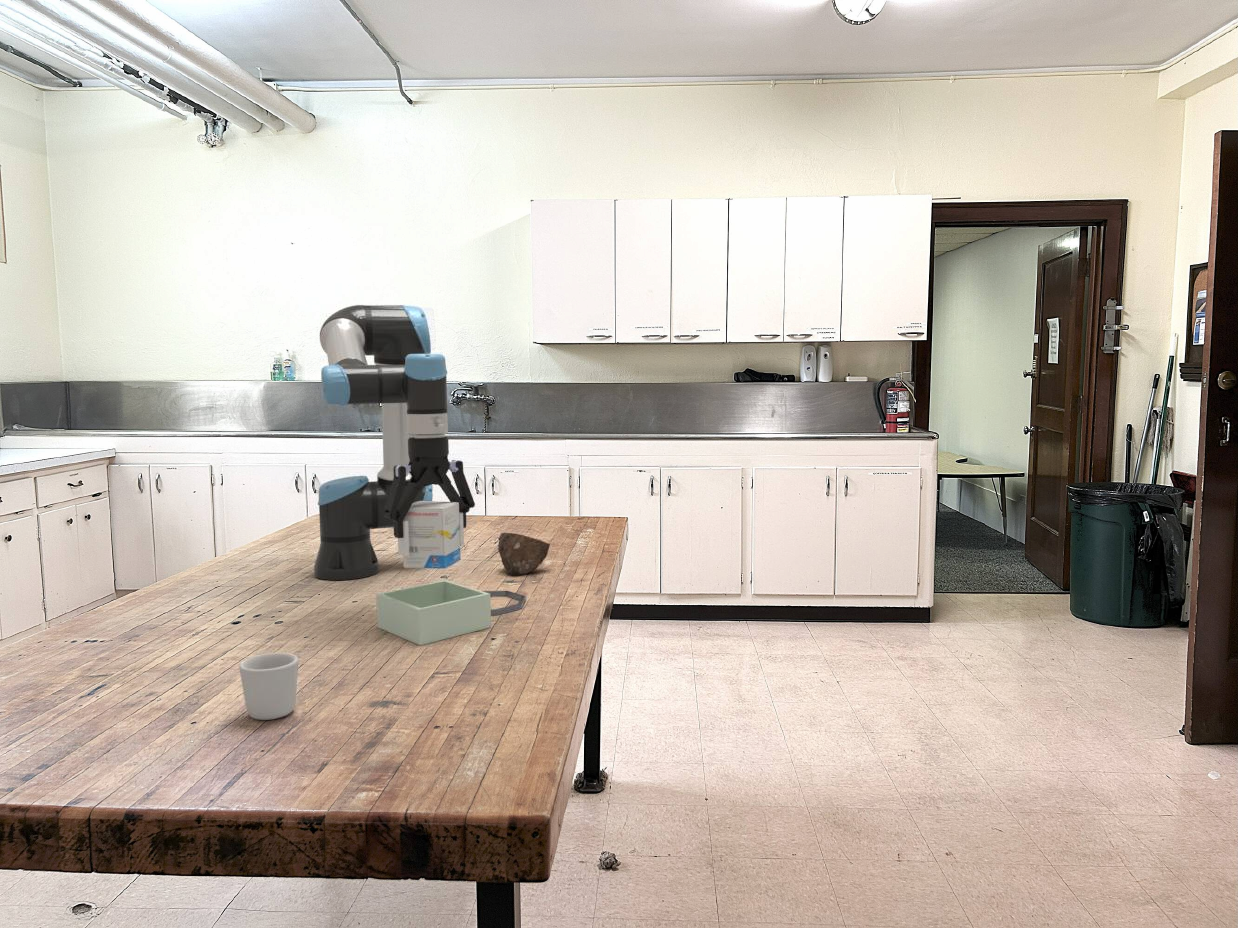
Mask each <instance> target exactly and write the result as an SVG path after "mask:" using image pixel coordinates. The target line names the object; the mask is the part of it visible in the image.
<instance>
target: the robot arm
mask: <svg viewBox="0 0 1238 928" xmlns="http://www.w3.org/2000/svg"><path fill="white" fill-rule="evenodd" d="M429 329H430V328H429V324H428V319H427V316H426V314H425V312H424V310H423V309H422V308H421V307H418V306H413V305H405V304H402V305H401V304H400V305H399V304H395V305H394V304H391V305H390V304H384V305H380V304H379V305H377V304H376V305H367V304H366V305H365V304H355V305H350V306H346V307H344V308H342V309H339V310H338V311H336V312H334V313H332V314H331V315H330V316H329V317H327V319H325V321H324V322H323V324H322V325H321V327H320V331H319V343H320V346H321V349H322V350H323V352H325V354H326V356H327V363H328V365H324V366H323V367H322V368H321V372H320V373H321V376H320V377H321V378H320V379H321V381H320V382H321V395H322V401H323V403H325V404H327V405H340V406H346V405H371V404H372V405H375V404H381V417H382V419H381V420H382V421H381V423H382V456H383V457H382V458H383V459H382V461H383V462H382V463H383V464H382V465H383V466H382V468H381V469H380V470H379V471H378V472H377V475H376V476H377V477H376V479H377V480H376V481H370V480H369V478H368V476H367V475H357V476H356V475H353V476H347V477H341V478H336V479H332V480H329V481H326V482H324V483H322V484H321V485H320V487H319V488H318V502H317V505H318V507H319V508H318V509H319V513H318V514H319V536H320V539H319V540H320V542H319V543H320V545H319V548H318V552H317V556H316V558H315V562H314V566H313V572H314V573H313V575H314V577H315V578H318V579H320V580H329V581H340V580H341V581H342V580H343V581H345V580H356V579H362V578H363V579H364V578H365V577H370V576H373V575H375V574H377V573H379V572H380V566H379V565H380V563H379V559H378V557H377V554H376V551H375V549H374V547H373V544H372V541H371V530H375V529H377V530H378V529H379V530H380V529H391V528H392V529H393V536H394V538H395V539H397V549H398V550H397V553H398V555H401V556H403V555H404V556H408V555H409V530H408V521H407V520H404V518H405V516H406V514H407V513H408V511H409V509H410V507H411V505H412V503H415V502H418V501H433V496H434V494H433V485H436V486H439V487H440V489H441V491H442V492H443V493H444V494H445V496H446V498H447V499H448V500H449V502H459V523H460V547H464V546H465V536H464V533H465V531H464V529H466V528H467V513H469V512H470V509H471V508H472V509H473V508H475V506H476V503H475V500H474V497H473V494H472V492H471V489H470V485H469V483H468V481H467V479H466V475H465V473H464V462H463V461H462V460H456V459H452V460H451V461H450V460H449V458H448V457H449V453H450V450H449V448H450V447H449V446H450V444H449V437H448V436H446V435H447V434H448V433H449V430H448V429H449V427H448V426H449V425H448V424H449V423H448V422H449V421H448V396H447V395H448V392H447V391H448V389H447V374H448V369H447V364H446V357H445V356H444V355H443V354H442V353H431V350H432V346H431V344H432V343H431V342H432V341H431V335H430V330H429ZM367 356H373V364H368V361H367ZM449 471H450V472H451V475H452V478H453V481H454V484H455V486H456V488H455V486H454V485H453V484H452V481H451V479H450V478H449V476H448V475H447V473H448V472H449ZM456 489H457V490H456Z"/></svg>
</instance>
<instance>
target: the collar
mask: <svg viewBox="0 0 1238 928" xmlns="http://www.w3.org/2000/svg"><path fill="white" fill-rule="evenodd" d="M482 591H483V592H486V593H489V594H490V597H507V598H511V599H514V600H517V601H518V603H516V604H511V605H508V606H504V607H499V608H496V609H495V608H494V609H493V608H491V616H499V615H502V614H506V613H512V612H516V611H519V610H522V609H523V607H524V605H525V602H526V595H523V594H519V593H517V592H514V591H510V590H482Z"/></svg>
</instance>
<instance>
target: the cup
mask: <svg viewBox="0 0 1238 928" xmlns="http://www.w3.org/2000/svg"><path fill="white" fill-rule="evenodd" d="M238 667H239V673H240V680H241V687H242V692H243V697H244V704H245V708H246V712H247V713H248V715H249V716H250V717H251V718H253V719H255V720H258V721H268V720H275V719H280V718H283V717H285V716H287V715H289V714H291V713H292V712H293V710H294V709H295V706H296V703H297V692H298V690H297V689H298V672H299V657H298V656H297V655H295V654H293V653H289V652H268V653H263V654H262V653H261V654H257V655H253V656H250V657H248V658H246V659H244V660H242V662H241V663H239V666H238Z"/></svg>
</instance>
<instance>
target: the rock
mask: <svg viewBox="0 0 1238 928" xmlns="http://www.w3.org/2000/svg"><path fill="white" fill-rule="evenodd" d="M550 545H551V544H550V543H548V542H545V541H543V540H540V539H538V538H534V537H531V536H527V535H524V534H519V533H514V532H501V533H500V535H499V537H498V547H497V550H498V553H499V556H500V559H501V563H502V565H503V568H504V571H505V572H506V573H508V574H509V575H514V576H520V575H526V574H530V573H531V572H533V571H535V570H536V569H538V568H539V566H540V565H542V564H543V561H544V560H545V559H546V558H547V555H548V554H549V549H550Z"/></svg>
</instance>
